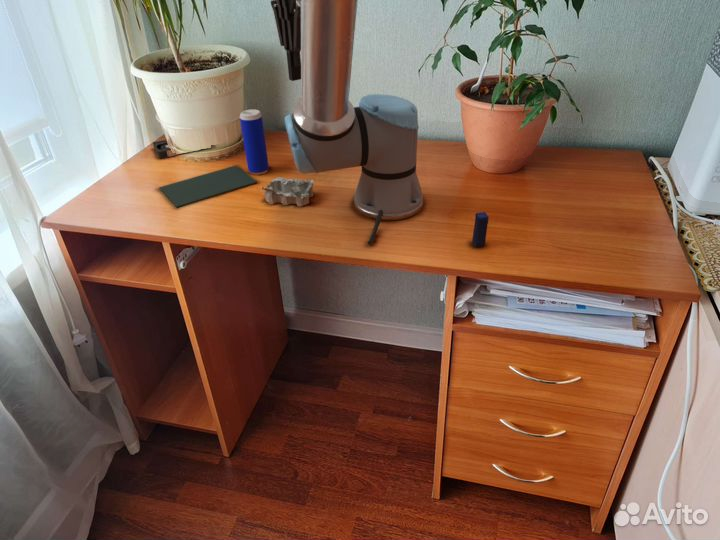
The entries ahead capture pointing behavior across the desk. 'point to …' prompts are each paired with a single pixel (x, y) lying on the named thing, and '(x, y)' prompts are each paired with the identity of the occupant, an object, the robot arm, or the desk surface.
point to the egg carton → (289, 191)
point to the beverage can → (254, 141)
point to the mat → (207, 186)
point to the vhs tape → (163, 149)
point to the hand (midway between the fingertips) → (295, 79)
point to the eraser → (480, 229)
